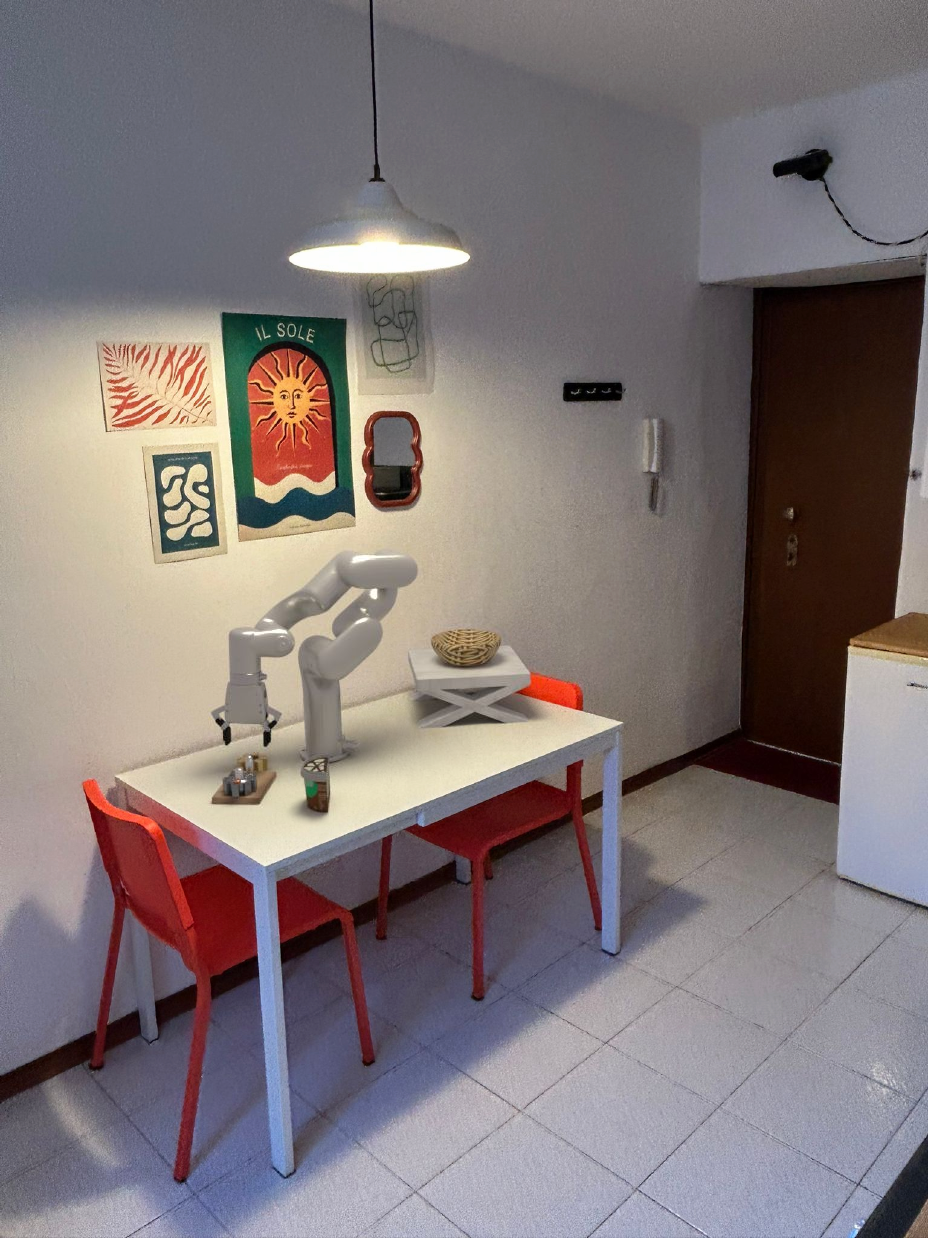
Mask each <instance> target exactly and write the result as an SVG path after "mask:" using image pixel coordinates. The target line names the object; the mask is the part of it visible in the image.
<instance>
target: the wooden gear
mask: <svg viewBox="0 0 928 1238" xmlns="http://www.w3.org/2000/svg"><path fill="white" fill-rule="evenodd" d="M248 755H250V756H252V757H253V768H254V771H269V756H268V754H266V753H260V752H259V751H258V752H253V753H248V752H247V753H244V754H242V756H238V757H237V758H236V762H237V767H242V768H243V771H246V763H245V758H246V756H248Z"/></svg>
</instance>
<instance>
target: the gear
mask: <svg viewBox="0 0 928 1238" xmlns="http://www.w3.org/2000/svg"><path fill="white" fill-rule="evenodd" d="M234 771H235V773H234V774H230V773H229V774H230V775H229V774H228V775H227V777H226V776H225V777H223V779H222V784H223V792H224V795H226V796H230V795H232V797H240V796H242V795H244V796H249V795H252V792H256V791H257V777H256V775H254V774H253V773H252V774H247V772H243V768H242V767H238V766H237V767H235V768H234ZM228 776H229V777H228Z"/></svg>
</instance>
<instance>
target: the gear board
mask: <svg viewBox="0 0 928 1238" xmlns="http://www.w3.org/2000/svg"><path fill="white" fill-rule="evenodd" d="M243 772H246V771H243ZM234 773H235V770H231V771H230V773H229V774H228V775H230V774H234ZM228 775H227V777H229V776H228ZM254 775H256V777H257V791H256V792H252V795H249V796H244V795H242V796H240V797H232V795H230V796H226V795H224V792H223V783H222V784H220V786H219V788H218V789H217V790H216V792H215V793H213V795H212V796H211V802H212V804H213V805H216V804H217V805H221V804H222V805H224V804H225V805H226V804H227V805H260V804H261V803H262V801H263V799H264V798H265V796H266V795H267V793H268V791H269V790H270V788H271V787H272V785H273V783H274V782H275V781H276V778H277V771H276V770H268V771H254Z"/></svg>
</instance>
